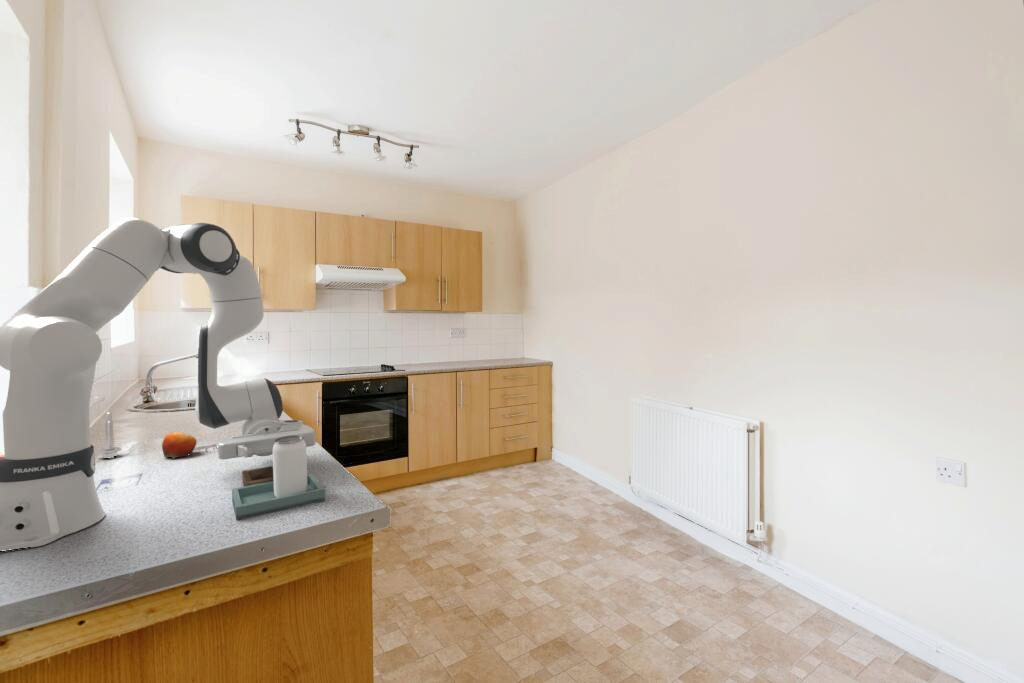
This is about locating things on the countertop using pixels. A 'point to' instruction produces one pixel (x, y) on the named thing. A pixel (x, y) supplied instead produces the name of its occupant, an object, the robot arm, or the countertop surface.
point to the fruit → (178, 444)
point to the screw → (109, 438)
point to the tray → (273, 498)
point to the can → (289, 465)
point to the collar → (257, 476)
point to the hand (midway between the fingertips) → (273, 449)
